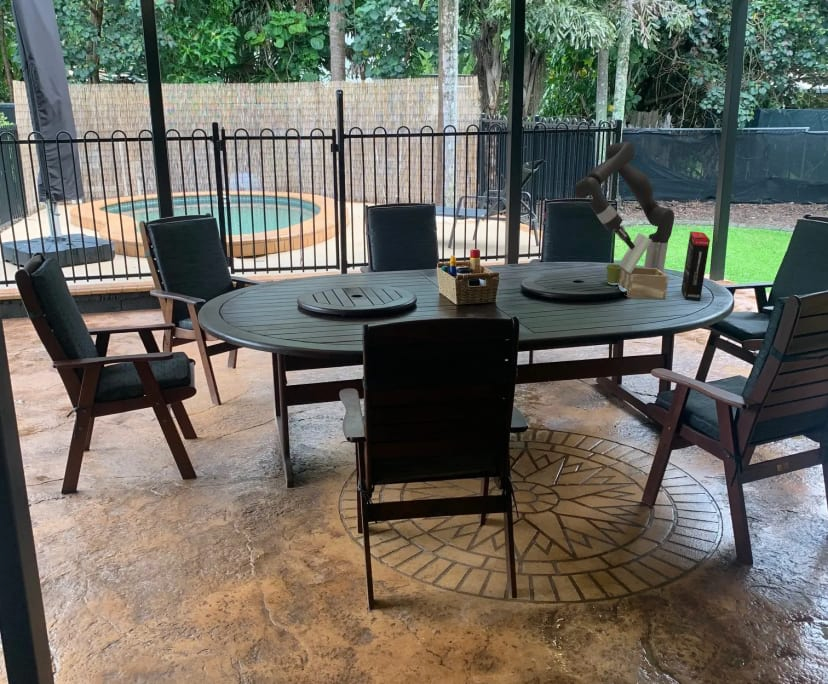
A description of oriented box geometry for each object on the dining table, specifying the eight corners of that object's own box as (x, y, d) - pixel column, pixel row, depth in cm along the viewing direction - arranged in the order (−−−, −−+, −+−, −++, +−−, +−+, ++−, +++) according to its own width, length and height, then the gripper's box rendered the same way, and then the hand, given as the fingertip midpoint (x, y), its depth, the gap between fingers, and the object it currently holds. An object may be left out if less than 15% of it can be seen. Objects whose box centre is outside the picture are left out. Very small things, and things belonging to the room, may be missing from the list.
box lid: (619, 267, 341) (617, 266, 341) (641, 233, 337) (638, 232, 337) (629, 275, 327) (627, 273, 326) (652, 240, 322) (649, 238, 322)
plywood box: (617, 288, 345) (621, 266, 342) (653, 290, 345) (656, 268, 342) (627, 297, 329) (631, 274, 326) (664, 299, 330) (668, 276, 327)
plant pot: (602, 285, 348) (605, 266, 346) (604, 281, 357) (606, 263, 354) (623, 288, 346) (626, 269, 343) (624, 284, 354) (627, 265, 352)
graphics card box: (700, 301, 330) (712, 238, 322) (684, 299, 331) (694, 236, 323) (695, 292, 346) (705, 232, 338) (679, 291, 348) (689, 230, 339)
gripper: (620, 213, 323) (644, 244, 327) (612, 209, 336) (635, 239, 340) (605, 225, 324) (630, 256, 329) (598, 220, 337) (621, 250, 341)
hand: (632, 247), depth 334 cm, fingers closed
